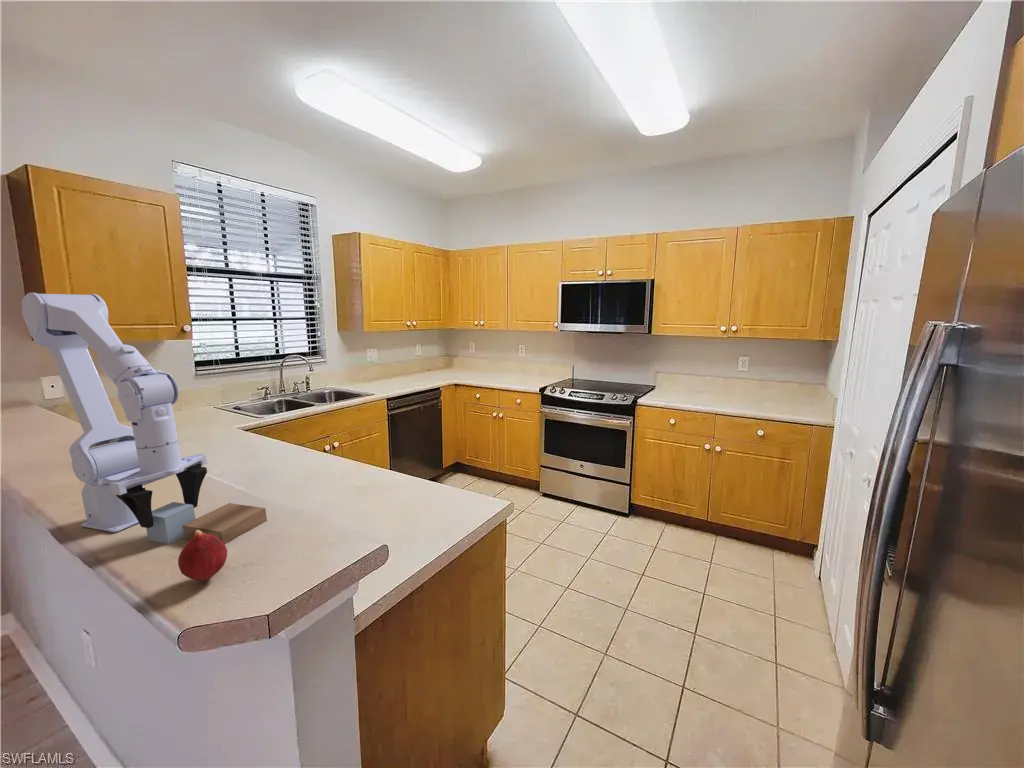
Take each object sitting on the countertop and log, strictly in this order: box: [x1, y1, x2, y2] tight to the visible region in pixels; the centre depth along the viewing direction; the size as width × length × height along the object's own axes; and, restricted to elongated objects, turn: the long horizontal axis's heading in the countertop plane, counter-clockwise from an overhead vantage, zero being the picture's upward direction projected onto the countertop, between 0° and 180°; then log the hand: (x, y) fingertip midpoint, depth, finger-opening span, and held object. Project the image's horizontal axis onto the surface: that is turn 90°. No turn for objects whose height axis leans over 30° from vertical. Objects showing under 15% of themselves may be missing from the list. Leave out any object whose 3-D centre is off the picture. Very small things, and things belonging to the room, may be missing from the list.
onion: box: [177, 530, 228, 582], centre depth 62 cm, size 6×6×8 cm
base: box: [183, 502, 268, 545], centre depth 78 cm, size 9×9×3 cm
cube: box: [145, 501, 196, 545], centre depth 76 cm, size 5×5×5 cm
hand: (170, 516), depth 76 cm, fingers open, 7 cm apart
